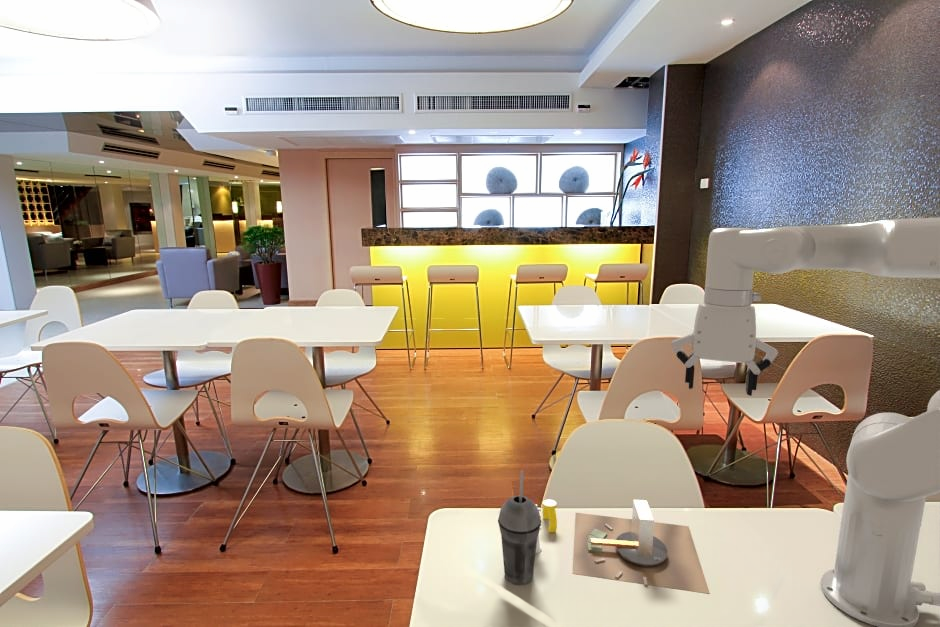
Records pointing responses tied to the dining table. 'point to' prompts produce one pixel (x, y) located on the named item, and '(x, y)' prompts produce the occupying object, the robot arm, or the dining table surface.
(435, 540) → the dining table surface
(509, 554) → the beverage cup
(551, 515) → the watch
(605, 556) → the board
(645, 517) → the dial
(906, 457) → the robot arm
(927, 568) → the dining table surface
